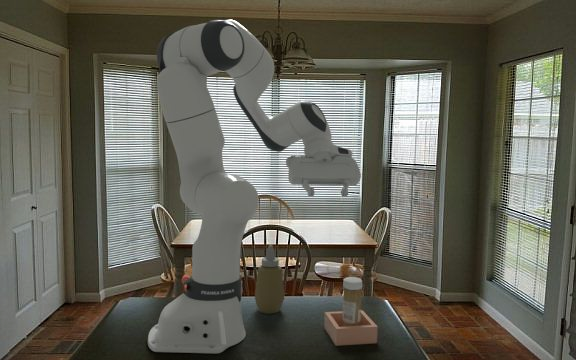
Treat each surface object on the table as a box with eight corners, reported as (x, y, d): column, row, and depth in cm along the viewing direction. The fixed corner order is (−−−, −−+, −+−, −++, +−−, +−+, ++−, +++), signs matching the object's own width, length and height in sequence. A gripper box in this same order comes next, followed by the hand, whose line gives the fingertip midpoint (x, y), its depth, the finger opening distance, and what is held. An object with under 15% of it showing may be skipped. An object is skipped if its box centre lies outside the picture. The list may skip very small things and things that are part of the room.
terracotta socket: (335, 345, 107) (336, 328, 107) (324, 327, 117) (324, 312, 116) (376, 343, 109) (377, 326, 109) (362, 325, 119) (362, 310, 118)
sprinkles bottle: (364, 334, 113) (366, 280, 111) (350, 338, 110) (352, 283, 109) (351, 327, 116) (353, 275, 115) (337, 331, 114) (339, 278, 112)
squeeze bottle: (248, 309, 128) (249, 244, 126) (271, 302, 133) (272, 240, 131) (266, 318, 122) (268, 251, 120) (289, 311, 127) (291, 246, 125)
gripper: (286, 148, 130) (292, 187, 121) (356, 150, 134) (367, 188, 125) (283, 163, 135) (288, 201, 126) (351, 164, 139) (360, 202, 130)
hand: (328, 195), depth 126 cm, fingers open, 8 cm apart
